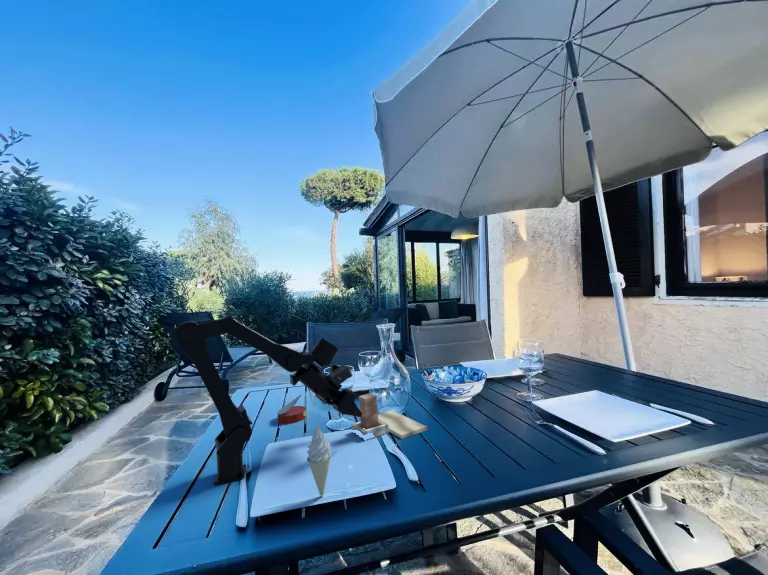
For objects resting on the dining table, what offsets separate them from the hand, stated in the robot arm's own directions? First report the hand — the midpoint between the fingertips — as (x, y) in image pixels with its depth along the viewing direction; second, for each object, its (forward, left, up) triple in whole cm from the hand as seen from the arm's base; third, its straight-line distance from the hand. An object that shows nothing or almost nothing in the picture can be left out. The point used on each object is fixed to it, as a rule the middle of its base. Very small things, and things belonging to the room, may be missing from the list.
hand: (354, 411), depth 97 cm
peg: (+1, -5, -7) cm, 9 cm away
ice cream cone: (-26, +13, -8) cm, 30 cm away
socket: (+2, -9, -7) cm, 12 cm away
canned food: (+27, +18, -8) cm, 33 cm away
